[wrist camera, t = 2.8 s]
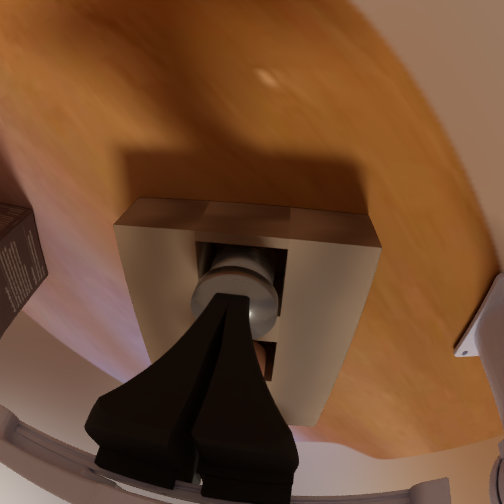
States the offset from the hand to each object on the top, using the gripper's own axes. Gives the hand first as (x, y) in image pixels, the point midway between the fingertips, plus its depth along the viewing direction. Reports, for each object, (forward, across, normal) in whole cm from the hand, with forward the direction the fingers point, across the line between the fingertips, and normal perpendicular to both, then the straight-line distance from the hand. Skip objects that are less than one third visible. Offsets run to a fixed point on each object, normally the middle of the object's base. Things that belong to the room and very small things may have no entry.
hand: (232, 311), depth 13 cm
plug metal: (+4, 0, 0) cm, 4 cm away
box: (+5, +18, +1) cm, 19 cm away
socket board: (+5, 0, +6) cm, 8 cm away
